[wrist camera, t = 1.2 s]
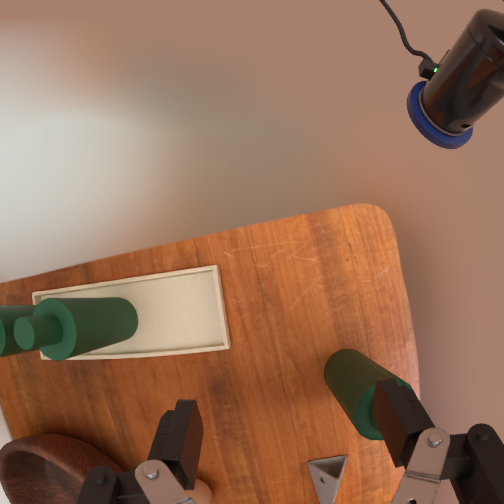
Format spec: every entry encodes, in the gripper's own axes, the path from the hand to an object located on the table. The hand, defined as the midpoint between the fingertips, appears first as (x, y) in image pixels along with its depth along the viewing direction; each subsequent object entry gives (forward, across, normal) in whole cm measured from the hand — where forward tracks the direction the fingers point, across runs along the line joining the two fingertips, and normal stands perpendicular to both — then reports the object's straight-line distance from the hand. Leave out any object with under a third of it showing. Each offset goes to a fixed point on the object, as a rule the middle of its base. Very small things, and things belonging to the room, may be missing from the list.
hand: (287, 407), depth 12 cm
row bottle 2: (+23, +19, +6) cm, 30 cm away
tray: (+23, +19, +6) cm, 31 cm away
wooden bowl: (+13, +31, +32) cm, 47 cm away
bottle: (+20, -8, +14) cm, 26 cm away
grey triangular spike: (+13, -7, +31) cm, 35 cm away
